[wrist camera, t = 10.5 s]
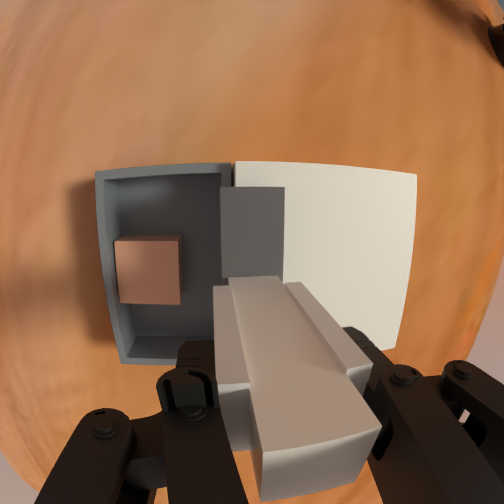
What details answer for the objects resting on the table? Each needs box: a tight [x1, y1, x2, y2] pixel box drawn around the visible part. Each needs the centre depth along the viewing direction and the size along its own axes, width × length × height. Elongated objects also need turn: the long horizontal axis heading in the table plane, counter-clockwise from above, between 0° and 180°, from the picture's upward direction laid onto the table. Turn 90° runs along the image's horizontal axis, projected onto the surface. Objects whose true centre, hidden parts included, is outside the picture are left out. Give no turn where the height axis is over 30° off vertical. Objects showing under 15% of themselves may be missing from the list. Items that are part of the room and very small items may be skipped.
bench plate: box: [231, 161, 417, 351], centre depth 21 cm, size 14×13×5 cm
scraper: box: [219, 187, 382, 502], centre depth 11 cm, size 11×3×13 cm, turn 1°
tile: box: [114, 235, 184, 305], centre depth 20 cm, size 4×4×2 cm
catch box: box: [95, 163, 231, 365], centre depth 20 cm, size 14×9×4 cm, turn 1°
